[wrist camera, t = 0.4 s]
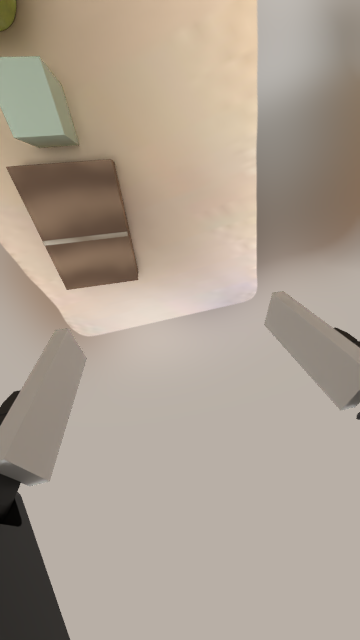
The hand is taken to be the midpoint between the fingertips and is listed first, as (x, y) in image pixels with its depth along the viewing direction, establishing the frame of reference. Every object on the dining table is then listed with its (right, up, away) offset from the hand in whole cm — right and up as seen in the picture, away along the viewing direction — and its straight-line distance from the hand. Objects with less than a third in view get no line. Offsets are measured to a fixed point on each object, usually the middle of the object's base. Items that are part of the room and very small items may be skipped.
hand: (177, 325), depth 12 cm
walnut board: (-14, +15, +18) cm, 27 cm away
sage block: (-16, +25, +10) cm, 31 cm away
